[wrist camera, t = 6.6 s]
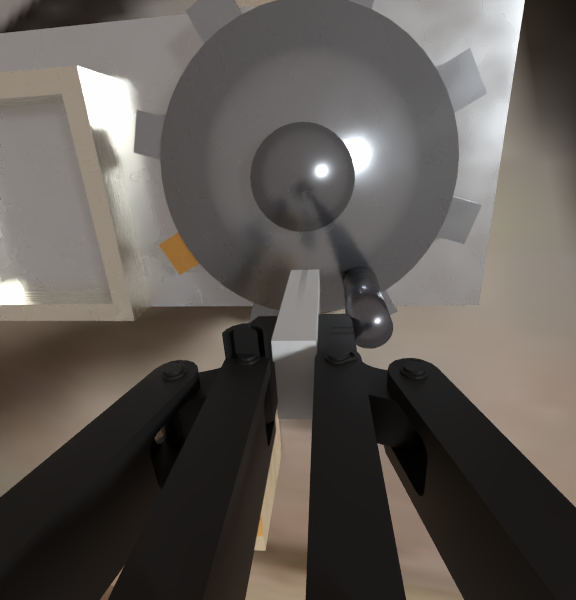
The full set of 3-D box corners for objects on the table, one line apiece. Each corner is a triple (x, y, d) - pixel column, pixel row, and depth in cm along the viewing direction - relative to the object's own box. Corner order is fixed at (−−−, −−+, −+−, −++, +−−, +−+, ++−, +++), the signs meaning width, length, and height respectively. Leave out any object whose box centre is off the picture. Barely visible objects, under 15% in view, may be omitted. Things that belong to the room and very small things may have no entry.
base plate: (-8, 301, 24) (-51, 320, 22) (-102, 51, 19) (-175, 34, 16) (471, 298, 21) (493, 320, 18) (516, -12, 15) (556, -48, 13)
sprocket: (258, 361, 22) (227, 446, 16) (89, 115, 18) (-44, 96, 12) (523, 235, 18) (631, 283, 12) (384, -126, 14) (430, -368, 7)
